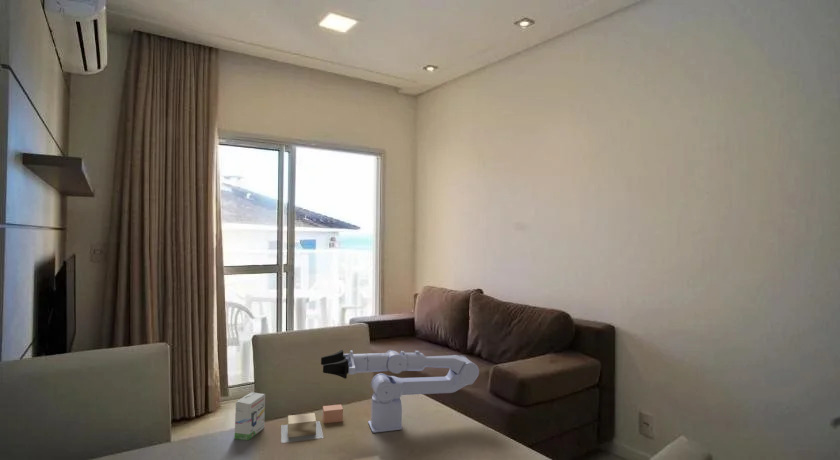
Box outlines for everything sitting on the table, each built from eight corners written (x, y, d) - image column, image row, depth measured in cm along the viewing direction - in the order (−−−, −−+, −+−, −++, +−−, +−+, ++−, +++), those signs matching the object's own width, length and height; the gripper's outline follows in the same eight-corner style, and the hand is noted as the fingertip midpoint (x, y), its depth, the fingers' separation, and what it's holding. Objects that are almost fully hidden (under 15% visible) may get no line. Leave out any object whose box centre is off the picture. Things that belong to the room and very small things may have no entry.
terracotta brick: (341, 419, 148) (341, 404, 148) (342, 424, 144) (342, 409, 144) (322, 421, 146) (322, 406, 146) (323, 426, 142) (324, 411, 142)
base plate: (319, 424, 144) (320, 420, 144) (323, 441, 132) (323, 437, 132) (280, 428, 140) (281, 425, 140) (281, 446, 128) (281, 443, 128)
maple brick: (314, 425, 140) (314, 412, 140) (315, 434, 134) (316, 420, 134) (287, 428, 138) (288, 415, 138) (288, 437, 132) (288, 423, 132)
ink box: (250, 429, 139) (250, 391, 139) (265, 431, 138) (265, 392, 138) (233, 442, 131) (234, 401, 131) (249, 444, 130) (249, 403, 130)
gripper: (362, 343, 148) (320, 345, 144) (370, 357, 134) (324, 359, 130) (361, 365, 148) (319, 367, 144) (369, 380, 134) (323, 383, 130)
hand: (322, 364), depth 137 cm, fingers open, 7 cm apart
